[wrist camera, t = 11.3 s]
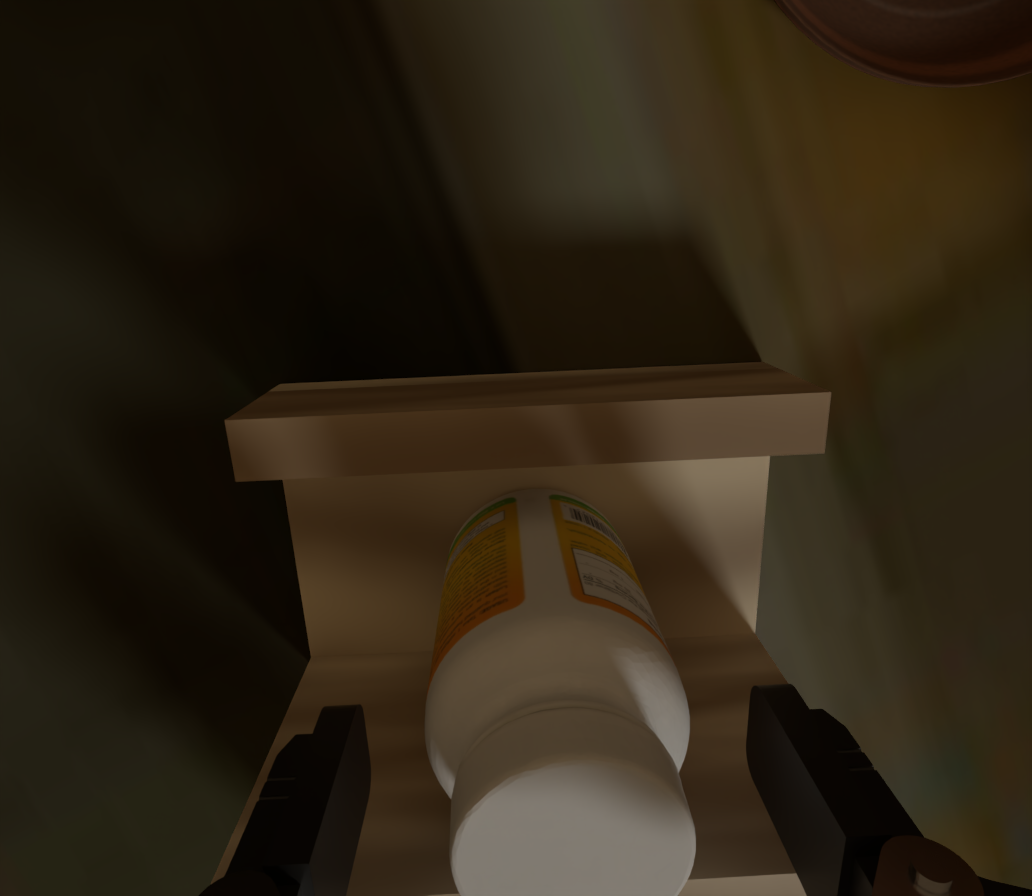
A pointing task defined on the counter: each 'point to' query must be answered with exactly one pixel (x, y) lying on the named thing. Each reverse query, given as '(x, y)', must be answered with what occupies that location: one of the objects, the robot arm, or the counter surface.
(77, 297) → the counter surface
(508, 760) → the supplement bottle
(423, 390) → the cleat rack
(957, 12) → the cup and saucer
